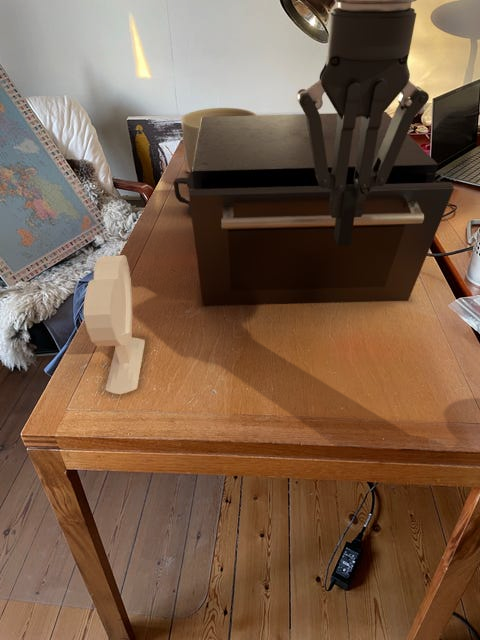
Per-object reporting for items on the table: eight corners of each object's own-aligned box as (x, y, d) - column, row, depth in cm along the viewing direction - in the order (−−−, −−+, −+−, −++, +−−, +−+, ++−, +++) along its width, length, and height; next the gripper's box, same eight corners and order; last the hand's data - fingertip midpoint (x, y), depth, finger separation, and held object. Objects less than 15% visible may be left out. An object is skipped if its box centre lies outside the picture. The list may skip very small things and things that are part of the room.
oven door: (413, 315, 86) (462, 203, 66) (202, 321, 86) (187, 211, 66) (406, 294, 90) (451, 182, 70) (203, 300, 90) (189, 189, 70)
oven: (405, 295, 90) (438, 164, 74) (203, 300, 90) (191, 171, 74) (367, 221, 115) (386, 111, 99) (209, 225, 115) (201, 116, 99)
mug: (223, 203, 125) (221, 163, 118) (219, 218, 118) (217, 176, 111) (180, 203, 126) (176, 162, 119) (173, 217, 119) (168, 175, 112)
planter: (257, 199, 127) (257, 128, 115) (183, 199, 128) (175, 129, 116) (258, 172, 143) (258, 107, 131) (192, 172, 144) (186, 107, 132)
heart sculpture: (135, 397, 71) (112, 304, 59) (102, 399, 70) (73, 306, 59) (146, 333, 83) (129, 245, 72) (118, 334, 83) (97, 247, 71)
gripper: (432, 0, 44) (387, 224, 58) (296, 3, 44) (285, 227, 58) (463, 7, 38) (404, 255, 53) (306, 11, 38) (291, 257, 53)
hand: (341, 240), depth 55 cm, fingers closed
